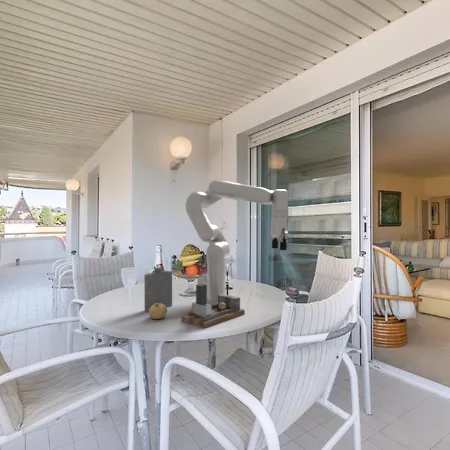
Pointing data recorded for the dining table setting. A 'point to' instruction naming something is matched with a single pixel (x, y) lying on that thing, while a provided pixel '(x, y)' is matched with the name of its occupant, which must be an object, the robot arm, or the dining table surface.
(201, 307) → the jaw
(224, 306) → the beige round ball
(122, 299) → the dining table surface
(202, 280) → the tea bag
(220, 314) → the cracker base
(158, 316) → the onion
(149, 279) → the hip flask
